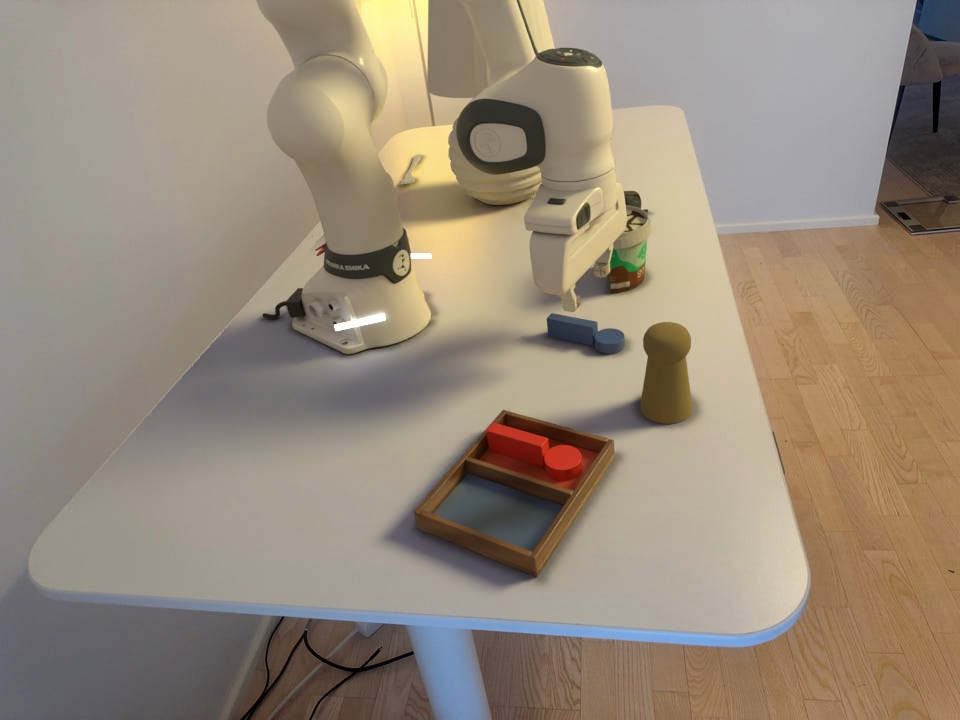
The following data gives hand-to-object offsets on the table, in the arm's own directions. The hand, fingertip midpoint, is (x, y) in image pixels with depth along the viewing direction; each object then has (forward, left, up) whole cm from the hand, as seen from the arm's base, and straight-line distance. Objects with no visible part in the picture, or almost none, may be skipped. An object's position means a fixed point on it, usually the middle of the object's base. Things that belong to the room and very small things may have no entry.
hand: (587, 291), depth 95 cm
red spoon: (+5, -25, -7) cm, 26 cm away
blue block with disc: (-1, 0, -8) cm, 8 cm away
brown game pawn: (+14, -10, -8) cm, 19 cm away
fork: (-70, +52, -8) cm, 88 cm away
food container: (-2, +19, -8) cm, 21 cm away
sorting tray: (+5, -30, -8) cm, 31 cm away
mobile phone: (-15, +39, -8) cm, 42 cm away
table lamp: (-40, +45, -8) cm, 60 cm away
